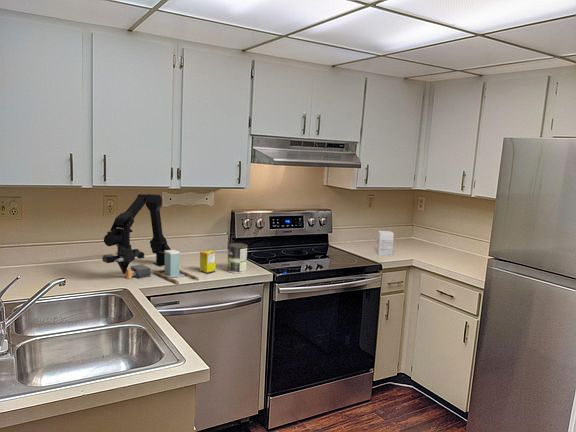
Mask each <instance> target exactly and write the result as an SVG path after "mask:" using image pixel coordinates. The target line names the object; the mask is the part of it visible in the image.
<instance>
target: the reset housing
mask: <svg viewBox="0 0 576 432" xmlns="http://www.w3.org/2000/svg"><path fill="white" fill-rule="evenodd" d="M130 269H131V270H132V271H134V270H136V275H135V278H137V279H144V278H150V277H151V268H150V267H149V266H146V265H144V264H136V265H130Z"/></svg>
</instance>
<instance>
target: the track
mask: <svg viewBox="0 0 576 432" xmlns="http://www.w3.org/2000/svg"><path fill="white" fill-rule="evenodd" d="M153 274H154V275H156V276H158V277H160V278H162V279H164V280H167V281H168V282H171V283H174V284H175V285H179V280H177V278H182V277H187V278H190V279H192V280H195V281H199V276H196V275H193V274H192V273H188V272H187V271H184V270H181V269H179V275H174V276H169V275H167V274H165V269H160V270H155V271H153ZM174 278H176V279H174Z"/></svg>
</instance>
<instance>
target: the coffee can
mask: <svg viewBox="0 0 576 432" xmlns="http://www.w3.org/2000/svg"><path fill="white" fill-rule="evenodd" d="M247 257H248V244H246V243H242V242H233V243H229V244H227V272H228V273H232V274H244V273H246V272H247V264H248V263H247V261H248V258H247Z"/></svg>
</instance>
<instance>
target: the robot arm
mask: <svg viewBox="0 0 576 432" xmlns="http://www.w3.org/2000/svg"><path fill="white" fill-rule="evenodd" d="M144 206H146V209H148V211H149V215H150V222H151V229H152V238H151V240H150V239H149V240H150V241H149V244H150V247H149V248H150V249H151V253H152V254H155V262H153V264H154V265H155V266H158V267H162V266H165V252H164V251H166V250H172V249H171V247H170V246H169V245H168V241H167V238H166V237H165V236H164V233H163V227H162V218H161V208H162V206H163V197H162V195H160V194H158V193H157V194H156V193H139V194H137V196H136V198H135V200H134V201H133V202H132V204H130V205H129V207H128V208H127V209H126V210H125V211H123V212H121V213H120V214H119V215H117V216H116V217H115V218H114V221H113V223H112V226H111V227H110V229H109V231H107V232H106V234H105V236H104V237H103V243H104V244H105V245H106V246H107V247H113V246H116V248H117V249H116V250H117V252H116V255H113V254H111V253H108V254H104V255H102V259H101V260H102V262H104V263H106V264H111V263H115V262H116V263H117V264H118V266H119V268H120V270H121V273H122V274H123V275H125V273H126V270H127V268H129V265H130V263H131V262H133V261H134V260H135V259H136V258H137V259H139V260H140V259H144V258H145V252H143V251H141V250H139V248H134V249H132V245H131V238H130V237H131V234H130V233H133V229H131V228H132V226H133V224H134V222H135V218H136V216H137V215H138V214H139V212H140V211H141V210H142V209H143V207H144Z"/></svg>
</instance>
